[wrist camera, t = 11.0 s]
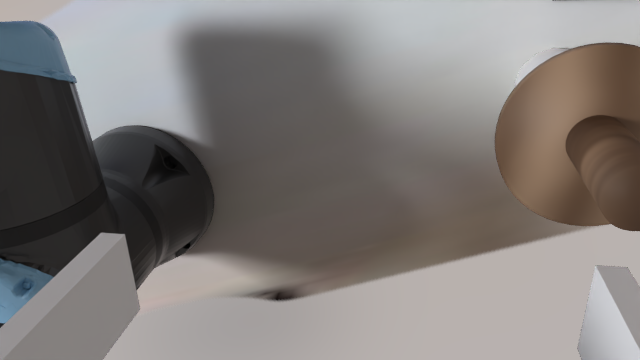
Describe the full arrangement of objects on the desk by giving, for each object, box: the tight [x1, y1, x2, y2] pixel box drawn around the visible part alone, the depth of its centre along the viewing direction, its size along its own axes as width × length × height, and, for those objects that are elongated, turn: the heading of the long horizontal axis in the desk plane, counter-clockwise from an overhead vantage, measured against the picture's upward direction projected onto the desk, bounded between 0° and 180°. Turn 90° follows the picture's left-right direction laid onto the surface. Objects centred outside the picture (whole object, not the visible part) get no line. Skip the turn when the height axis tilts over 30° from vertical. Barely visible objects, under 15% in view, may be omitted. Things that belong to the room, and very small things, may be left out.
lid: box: [495, 43, 640, 231], centre depth 31 cm, size 12×12×9 cm
